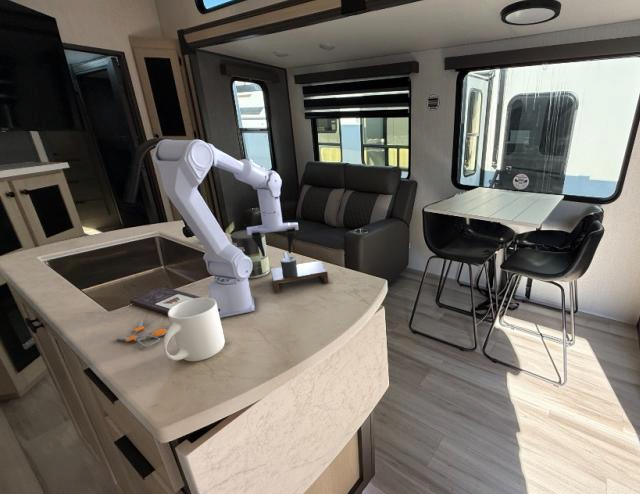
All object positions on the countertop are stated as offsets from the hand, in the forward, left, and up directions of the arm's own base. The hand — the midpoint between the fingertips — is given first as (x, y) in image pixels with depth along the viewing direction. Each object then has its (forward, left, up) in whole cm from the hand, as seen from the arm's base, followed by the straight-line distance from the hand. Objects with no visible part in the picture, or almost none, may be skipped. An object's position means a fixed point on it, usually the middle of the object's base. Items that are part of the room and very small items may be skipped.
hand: (276, 253), depth 100 cm
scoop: (+3, -3, -5) cm, 7 cm away
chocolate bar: (-30, -1, -10) cm, 32 cm away
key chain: (-33, -18, -9) cm, 38 cm away
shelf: (+6, -3, -9) cm, 11 cm away
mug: (-20, -31, -10) cm, 38 cm away
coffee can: (-7, +11, -10) cm, 16 cm away
